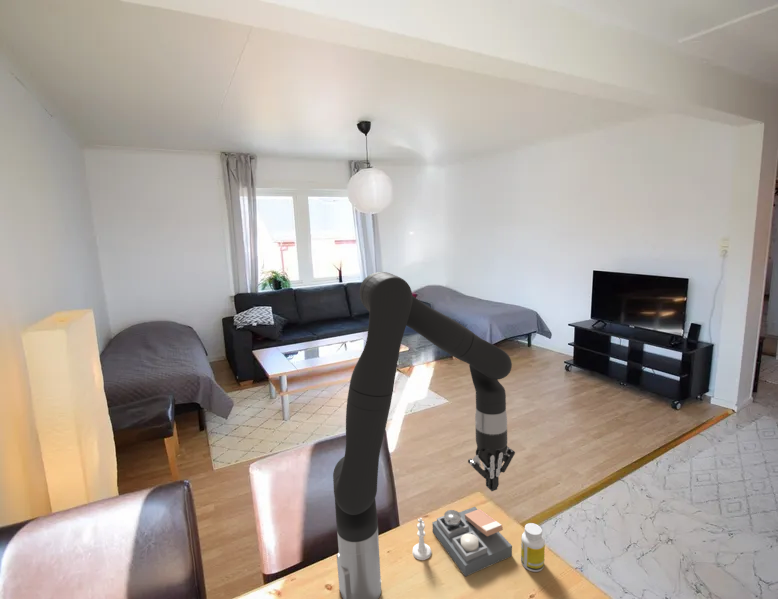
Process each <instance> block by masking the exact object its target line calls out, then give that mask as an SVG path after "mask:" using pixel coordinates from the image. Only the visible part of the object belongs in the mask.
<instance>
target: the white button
mask: <svg viewBox="0 0 778 599" xmlns="http://www.w3.org/2000/svg"><path fill="white" fill-rule="evenodd" d="M461 547H462V548H463V549H464V551H465V552H466V553H470V552H472V551H474V550H477V549H479V541H478V538H477V537H476V536H475V535H473V534H464V535H463V536H462V537H461Z"/></svg>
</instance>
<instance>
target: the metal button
mask: <svg viewBox="0 0 778 599" xmlns="http://www.w3.org/2000/svg"><path fill="white" fill-rule="evenodd" d="M443 516H444V523H445V525H446V526H447V527H449V528H457V527H459V526H460V525H461V515H460V513H459V511H458V510H455V509H448V510H447V511H445V512H444V514H443Z"/></svg>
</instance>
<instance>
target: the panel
mask: <svg viewBox="0 0 778 599" xmlns="http://www.w3.org/2000/svg"><path fill="white" fill-rule="evenodd" d="M478 509H479V508H477V507H476V506H473V507H471V508H468V509H465V510H462V511H460V512H459V511H458V512H459V513H460V515H461V525H460V526H459V527H457V528H449V527H447V526H446V525H445V523H444V515H443V516H439V517H437V518H436V520H435V521H432V522H431V523H432V524H431V525H432V533H433V535H434V536H435V537H436V539H437V540H438V541H439V543H440V544H441V545H442V547H443V548H444V550H445V551H446V552H447V553H448V555H449V557H450V558H451V559H452V560H453V562H454V563H455V564H456V566H457V567H458V569H459V570H460V571H461V573H462V574H463V576H464V577H467V576H470V575H472V574H474V573H477V572H479V571H481V570H483V569H485V568H488V567H490V566H492V565H495V564H497V563H500V562H501V561H503V560H506V559H508V558H511V557H512V556H513V545H512V544H511V543H510V542H509V540H508V539H506V537H504V535H503V534H502V533H501V532H500V531H499V532H497V533H494V534H492V535H489V536H486V535H484V534H483V533H482V532H481V531H480V530H478V529H477V528H476V527H475V526H473V525H472V524H471V523H470V522H468V521H467V520H466V519H465V514H467V513H470V512H472V511H475V510H478ZM464 534H473V535H475V536H476V537H477V538H478V541H479V549H477V550H474V551H472V552H470V553H466V552H465V551H464V549H463V548H462V547H461V537H462V536H463V535H464Z"/></svg>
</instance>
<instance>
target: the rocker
mask: <svg viewBox="0 0 778 599" xmlns="http://www.w3.org/2000/svg"><path fill="white" fill-rule="evenodd" d="M477 509H478V510H475V511H472V512H470V513H467V514H465V519H466V520H467V521H468V522H470V523H471V524H472V525H473V526H475V527H476V528H477V529H478V530H480V531H481V532H482V533H483V534H484V535H486V536H489V535H492V534H494V533H497V532H499V533H500V532H501V531H504V528H503V524H501V523H500V522H499V521H497V520H496V519H494V518H493V517H492V516H490V515H489V514H487V513H486V512H485V511H483V510H482V509H480V508H477Z"/></svg>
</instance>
